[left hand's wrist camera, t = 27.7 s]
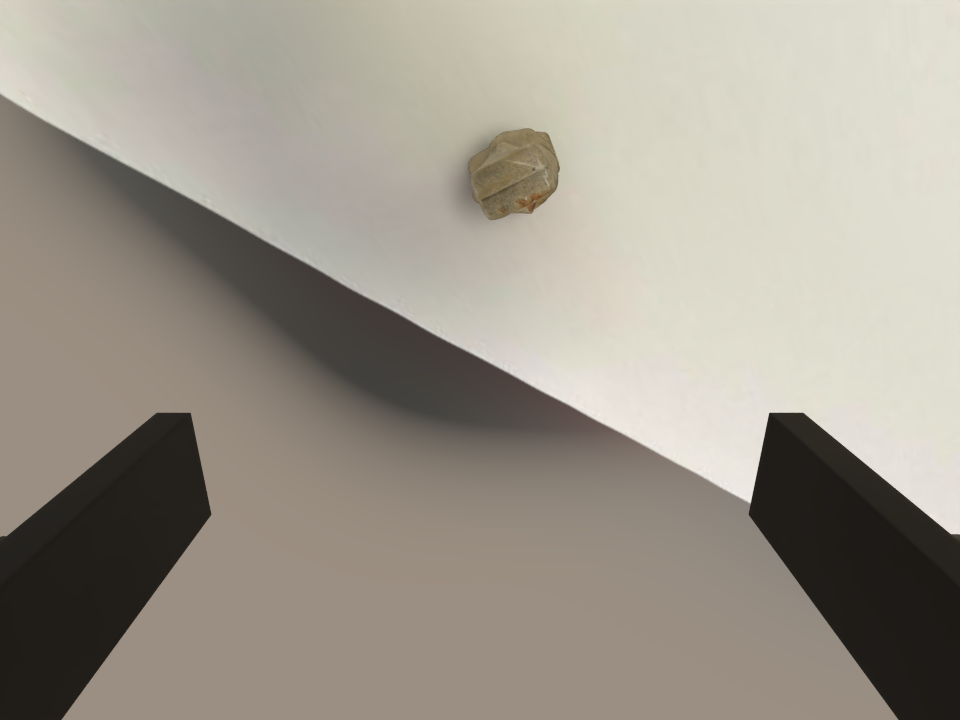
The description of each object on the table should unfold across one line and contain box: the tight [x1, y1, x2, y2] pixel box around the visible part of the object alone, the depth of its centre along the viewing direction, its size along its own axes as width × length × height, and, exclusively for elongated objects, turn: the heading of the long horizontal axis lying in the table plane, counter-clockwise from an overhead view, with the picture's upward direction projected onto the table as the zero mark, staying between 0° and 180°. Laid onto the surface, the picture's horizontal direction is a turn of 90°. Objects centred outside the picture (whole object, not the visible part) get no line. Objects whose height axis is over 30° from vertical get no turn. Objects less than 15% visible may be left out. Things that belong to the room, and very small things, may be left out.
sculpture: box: [469, 129, 560, 220], centre depth 42 cm, size 6×7×15 cm
